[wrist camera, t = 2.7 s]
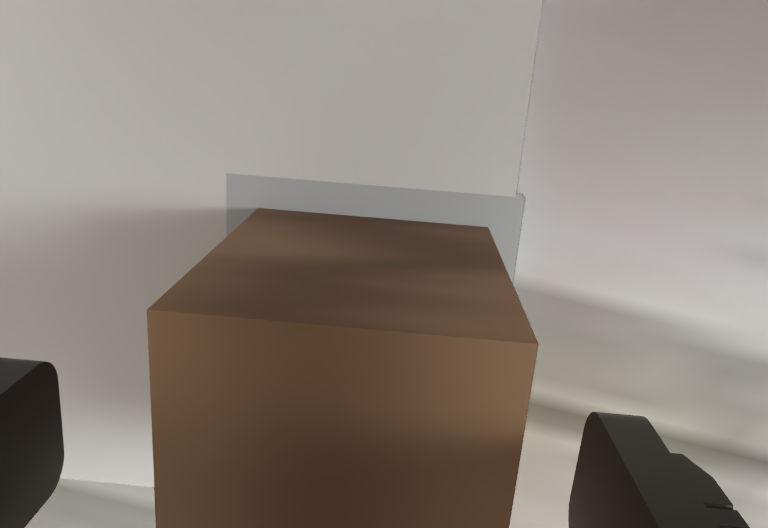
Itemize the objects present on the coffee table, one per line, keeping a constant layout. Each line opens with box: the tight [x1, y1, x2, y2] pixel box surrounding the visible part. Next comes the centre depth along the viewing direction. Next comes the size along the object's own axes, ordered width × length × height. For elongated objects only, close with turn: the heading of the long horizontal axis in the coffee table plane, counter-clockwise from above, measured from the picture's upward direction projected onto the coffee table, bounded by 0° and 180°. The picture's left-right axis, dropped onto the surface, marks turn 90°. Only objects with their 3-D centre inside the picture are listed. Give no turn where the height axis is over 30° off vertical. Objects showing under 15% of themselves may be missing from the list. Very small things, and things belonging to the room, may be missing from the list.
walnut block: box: [147, 208, 538, 528], centre depth 12 cm, size 5×5×6 cm
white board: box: [0, 0, 543, 487], centre depth 13 cm, size 12×22×1 cm, turn 176°
